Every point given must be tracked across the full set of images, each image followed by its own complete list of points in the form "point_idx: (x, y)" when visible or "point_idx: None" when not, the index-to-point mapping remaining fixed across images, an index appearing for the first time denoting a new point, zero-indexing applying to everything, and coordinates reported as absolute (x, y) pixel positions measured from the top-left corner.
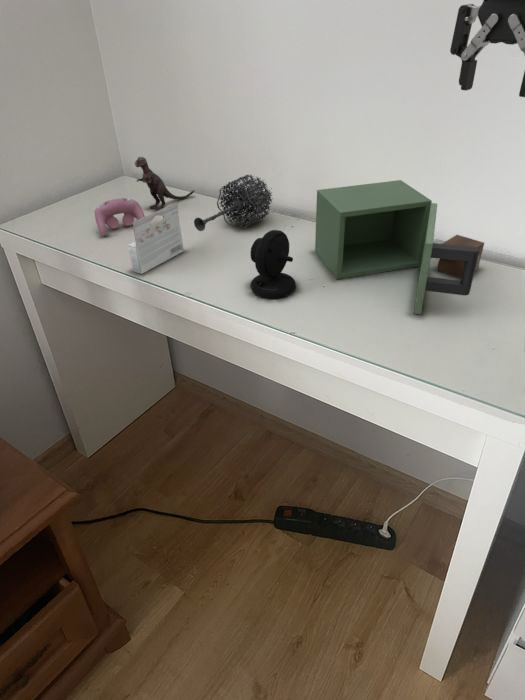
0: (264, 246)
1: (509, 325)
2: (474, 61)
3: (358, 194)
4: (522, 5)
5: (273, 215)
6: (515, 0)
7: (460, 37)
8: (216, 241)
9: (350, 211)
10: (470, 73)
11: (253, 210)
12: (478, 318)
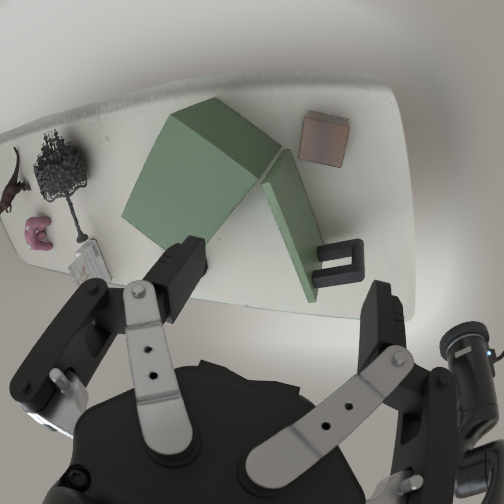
0: None
1: (405, 229)
2: (170, 299)
3: (164, 206)
4: None
5: (77, 127)
6: None
7: (99, 359)
8: (93, 210)
9: None
10: (186, 287)
11: (76, 177)
12: (376, 230)
